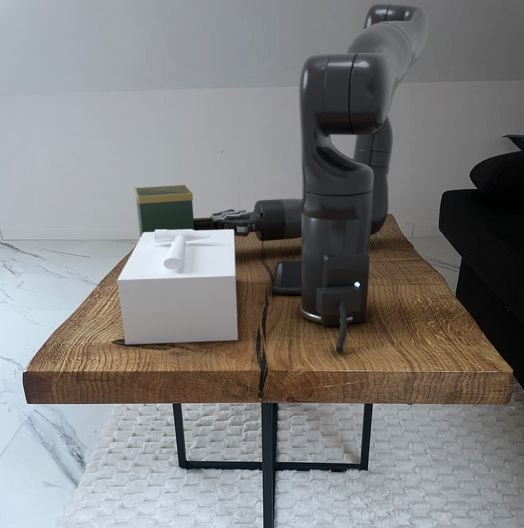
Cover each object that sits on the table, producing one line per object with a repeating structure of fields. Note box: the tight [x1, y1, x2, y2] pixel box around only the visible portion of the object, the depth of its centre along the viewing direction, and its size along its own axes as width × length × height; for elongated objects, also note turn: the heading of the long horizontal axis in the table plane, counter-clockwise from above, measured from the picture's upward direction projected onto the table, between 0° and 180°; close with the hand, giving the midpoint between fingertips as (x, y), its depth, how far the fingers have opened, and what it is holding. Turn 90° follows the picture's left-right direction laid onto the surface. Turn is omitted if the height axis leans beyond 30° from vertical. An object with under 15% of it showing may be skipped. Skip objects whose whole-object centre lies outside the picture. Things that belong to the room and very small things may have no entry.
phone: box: [272, 260, 301, 296], centre depth 100 cm, size 8×1×15 cm
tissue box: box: [116, 229, 239, 345], centre depth 87 cm, size 14×25×11 cm, turn 3°
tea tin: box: [134, 184, 194, 239], centre depth 109 cm, size 9×9×13 cm
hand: (190, 225), depth 110 cm, fingers closed
